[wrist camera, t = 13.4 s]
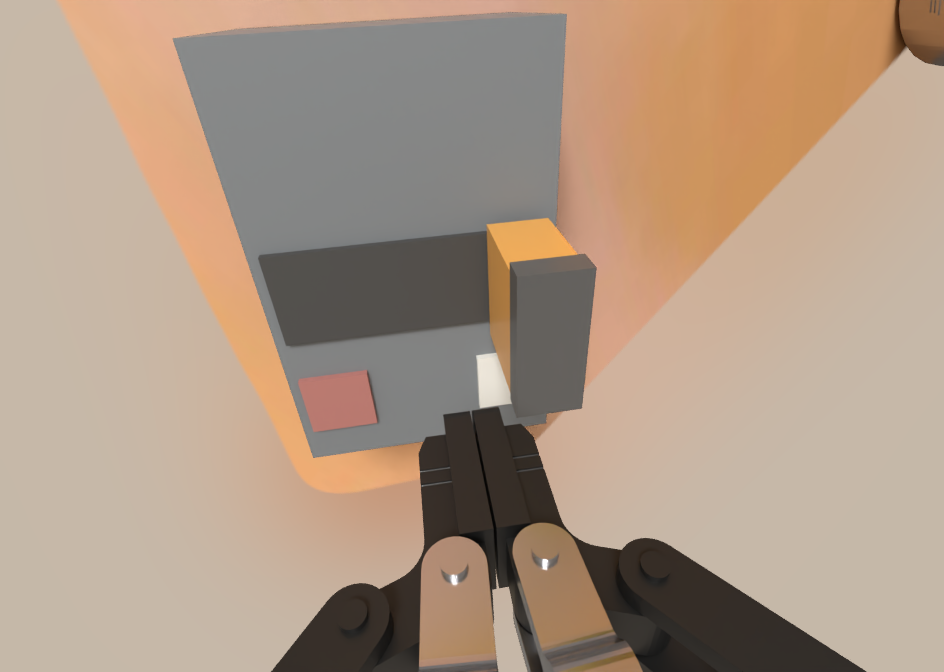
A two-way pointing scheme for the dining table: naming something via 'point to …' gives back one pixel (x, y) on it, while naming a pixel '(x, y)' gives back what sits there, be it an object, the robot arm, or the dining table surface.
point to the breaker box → (382, 202)
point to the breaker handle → (539, 314)
